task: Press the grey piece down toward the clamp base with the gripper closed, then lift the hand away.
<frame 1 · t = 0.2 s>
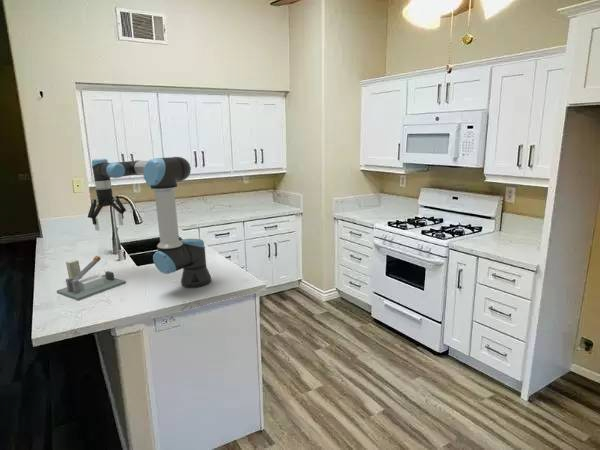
hand: (109, 227, 210), 28 cm above the worktop, fingers open, 13 cm apart
grey piece: (86, 268, 197), point 11 cm above the worktop, hinge at 30.0°
clamp base: (92, 287, 200), on the worktop
box: (75, 280, 212), on the worktop
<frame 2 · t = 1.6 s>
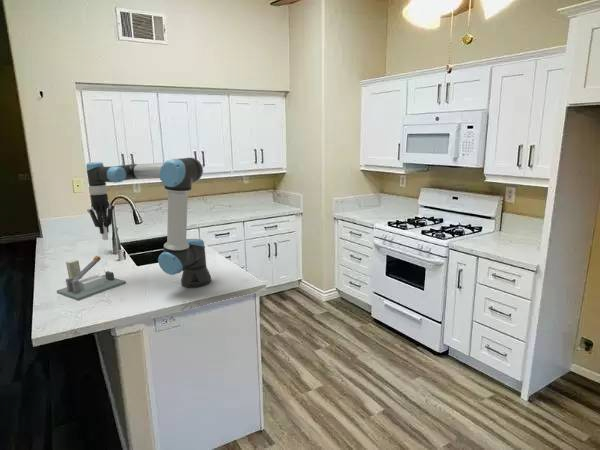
hand: (105, 239, 199), 24 cm above the worktop, fingers closed
nothing on the worktop moved.
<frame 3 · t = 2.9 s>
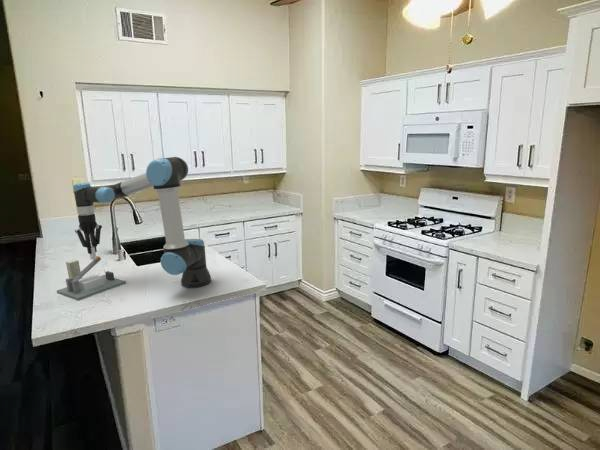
hand: (93, 259, 199), 15 cm above the worktop, fingers closed
grey piece: (86, 268, 197), point 11 cm above the worktop, hinge at 29.2°, touching gripper
everything else where it was.
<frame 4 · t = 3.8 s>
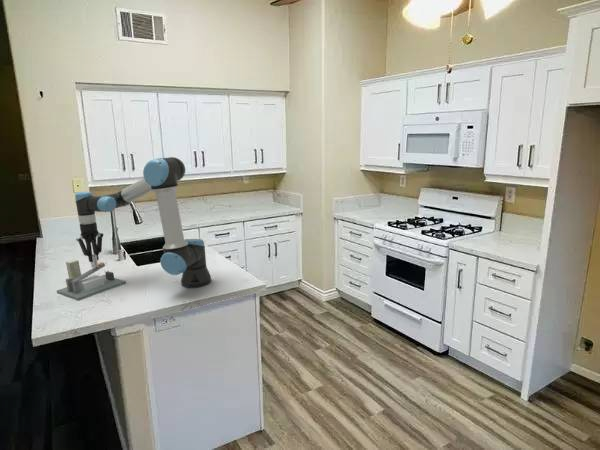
hand: (94, 267, 201), 10 cm above the worktop, fingers closed
grey piece: (89, 272, 198), point 9 cm above the worktop, hinge at 14.4°, touching gripper
everything else where it was.
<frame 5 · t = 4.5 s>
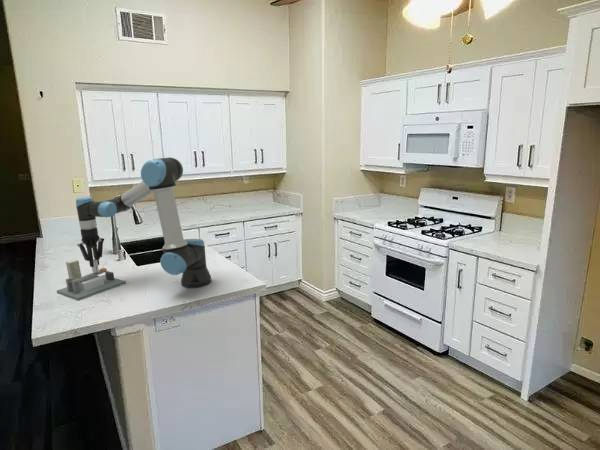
hand: (95, 272, 201), 8 cm above the worktop, fingers closed, pressing on grey piece
grey piece: (90, 275, 199), point 7 cm above the worktop, hinge at 3.4°, touching gripper
everything else where it was.
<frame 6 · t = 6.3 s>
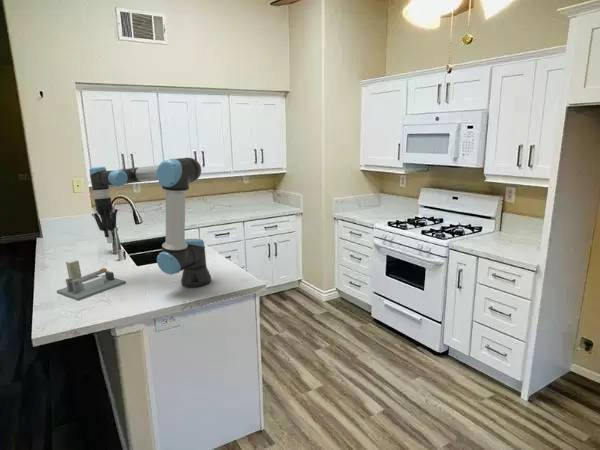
hand: (110, 242, 202), 22 cm above the worktop, fingers closed
grey piece: (90, 275, 199), point 7 cm above the worktop, hinge at 3.2°
everything else where it was.
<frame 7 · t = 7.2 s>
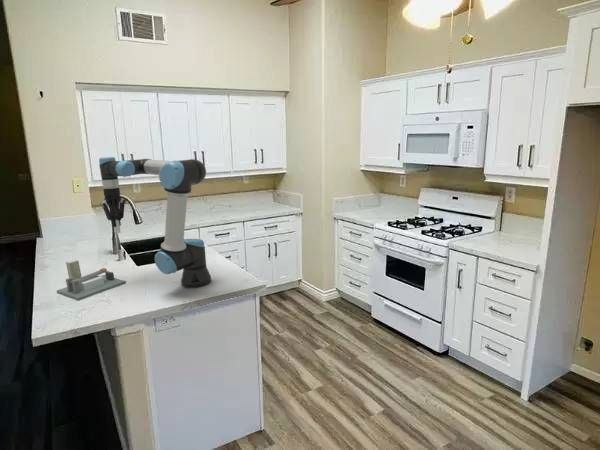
hand: (117, 232, 204), 26 cm above the worktop, fingers closed
nothing on the worktop moved.
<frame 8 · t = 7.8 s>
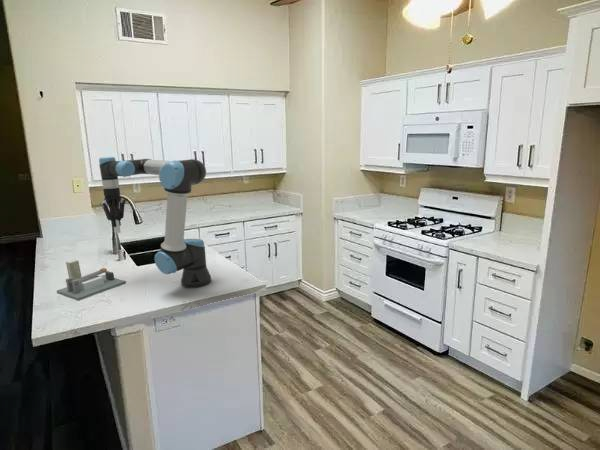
hand: (117, 232, 204), 26 cm above the worktop, fingers closed
nothing on the worktop moved.
at the end: grey piece at +3° (first picture: +30°) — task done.
